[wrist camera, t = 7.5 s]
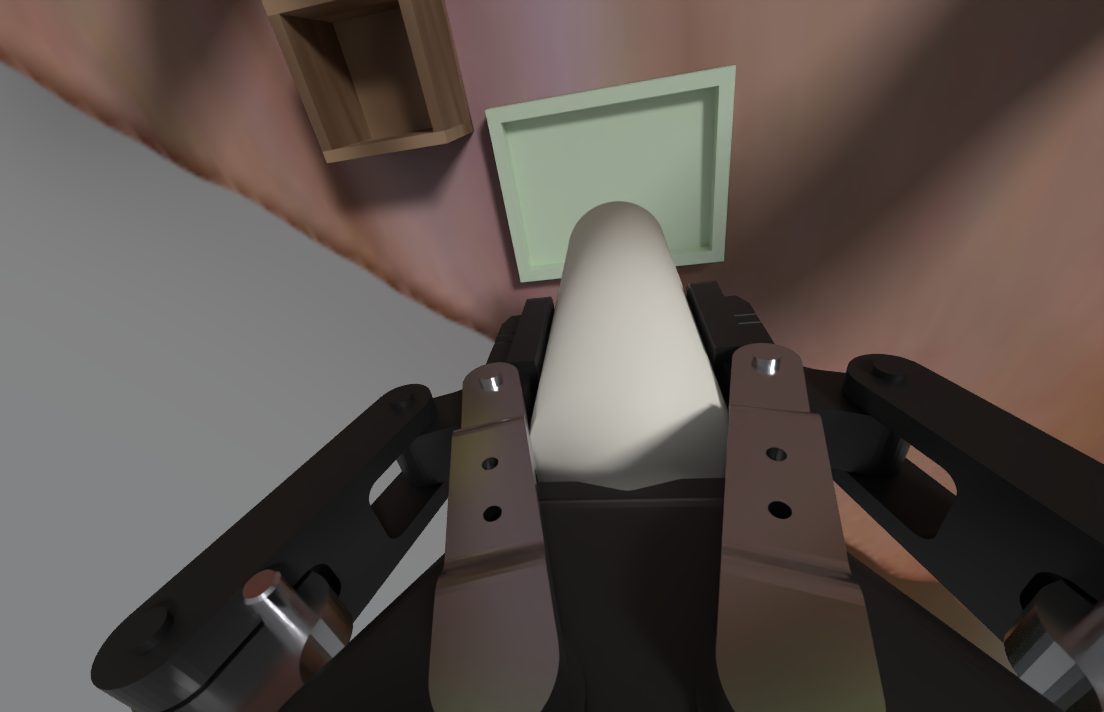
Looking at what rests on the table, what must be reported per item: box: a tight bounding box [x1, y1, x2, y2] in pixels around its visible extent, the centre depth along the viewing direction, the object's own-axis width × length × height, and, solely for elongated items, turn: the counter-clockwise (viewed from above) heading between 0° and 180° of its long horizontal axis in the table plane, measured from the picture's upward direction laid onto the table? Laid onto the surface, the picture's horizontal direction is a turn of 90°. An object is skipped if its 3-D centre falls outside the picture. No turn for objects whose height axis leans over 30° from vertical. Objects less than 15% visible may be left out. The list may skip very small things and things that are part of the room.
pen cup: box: [262, 0, 474, 163], centre depth 24 cm, size 7×7×6 cm
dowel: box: [529, 201, 729, 491], centre depth 13 cm, size 4×4×12 cm
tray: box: [485, 65, 736, 282], centre depth 28 cm, size 14×11×2 cm
